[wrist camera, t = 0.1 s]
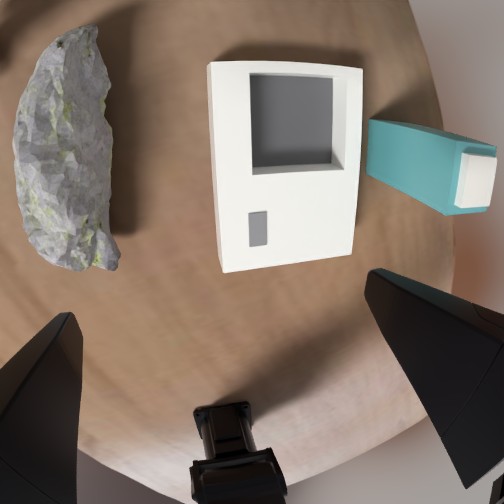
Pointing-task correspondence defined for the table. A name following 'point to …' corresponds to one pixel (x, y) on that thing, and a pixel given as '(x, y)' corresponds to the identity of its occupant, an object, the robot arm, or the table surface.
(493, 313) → the robot arm
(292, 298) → the table surface
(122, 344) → the table surface
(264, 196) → the socket plate
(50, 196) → the rock
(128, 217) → the table surface
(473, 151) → the plug
